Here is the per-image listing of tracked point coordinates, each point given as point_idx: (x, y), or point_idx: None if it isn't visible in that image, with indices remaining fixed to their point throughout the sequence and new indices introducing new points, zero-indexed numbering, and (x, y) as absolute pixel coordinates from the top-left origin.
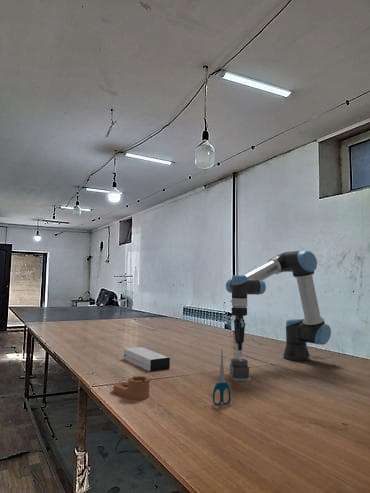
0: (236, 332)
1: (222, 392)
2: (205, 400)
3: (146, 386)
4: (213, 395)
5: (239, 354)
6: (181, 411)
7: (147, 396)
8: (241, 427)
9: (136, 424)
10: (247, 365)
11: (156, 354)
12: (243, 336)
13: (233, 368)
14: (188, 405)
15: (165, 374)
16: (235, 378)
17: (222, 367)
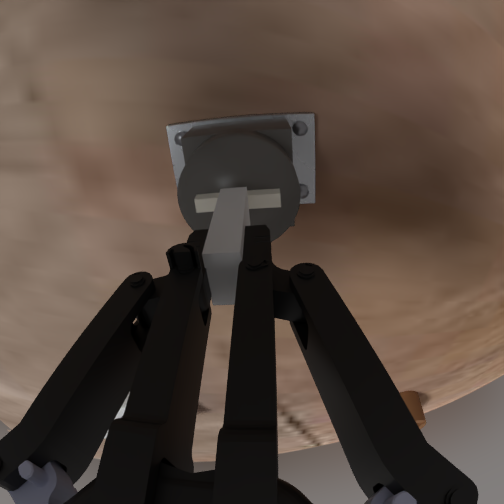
0: (196, 401)
1: None
2: (477, 306)
3: (422, 410)
4: None
5: (248, 219)
6: (498, 338)
7: (414, 393)
8: None
9: (499, 373)
10: (259, 133)
11: (118, 417)
12: (355, 327)
13: (293, 223)
14: (483, 332)
15: (221, 385)
16: (310, 194)
17: None
